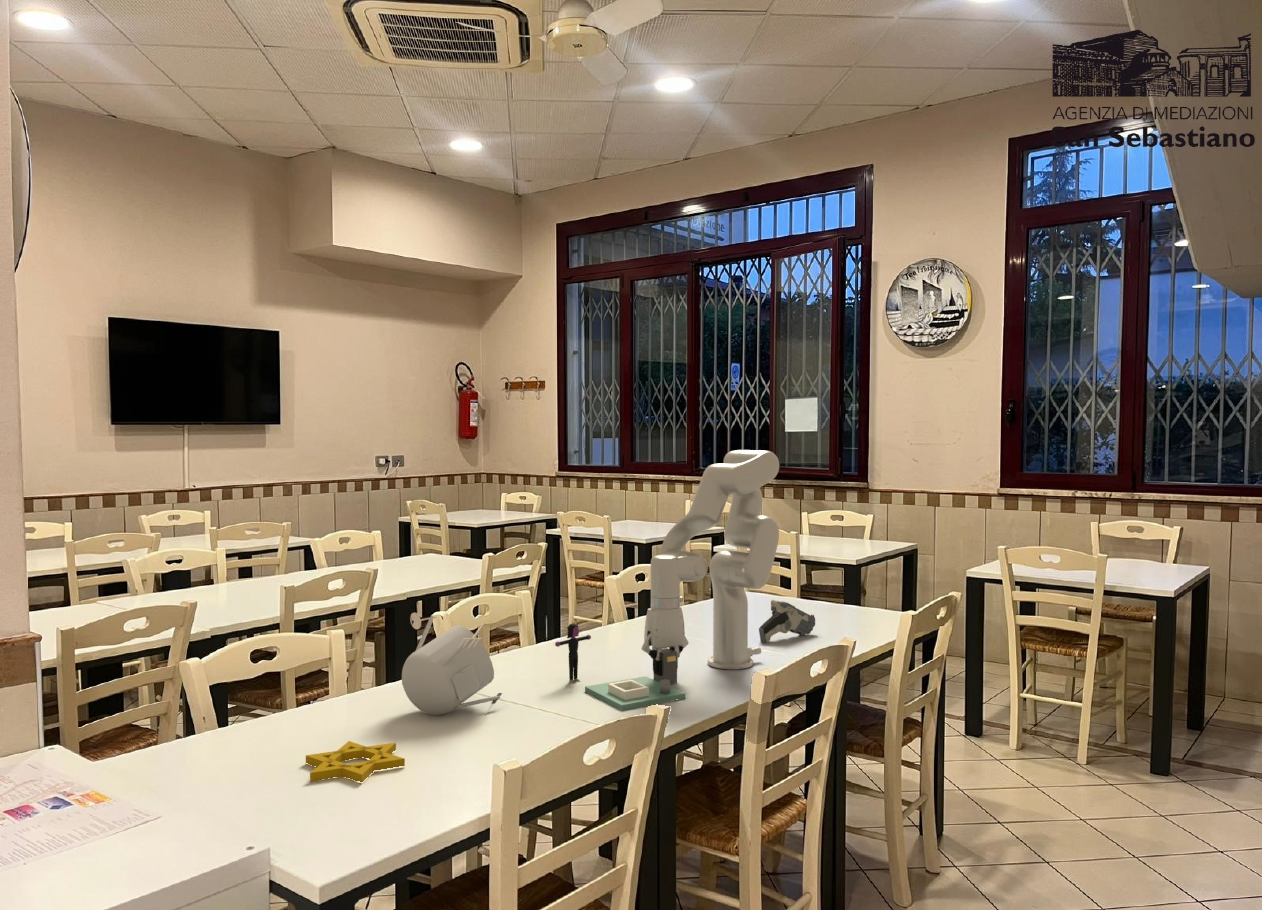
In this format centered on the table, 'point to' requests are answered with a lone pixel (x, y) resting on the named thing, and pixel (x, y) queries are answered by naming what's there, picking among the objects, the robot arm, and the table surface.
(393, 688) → the table surface
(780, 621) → the toy gun
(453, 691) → the satellite
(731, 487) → the robot arm
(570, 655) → the figurine
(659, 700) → the board
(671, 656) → the plug
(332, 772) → the star of david
